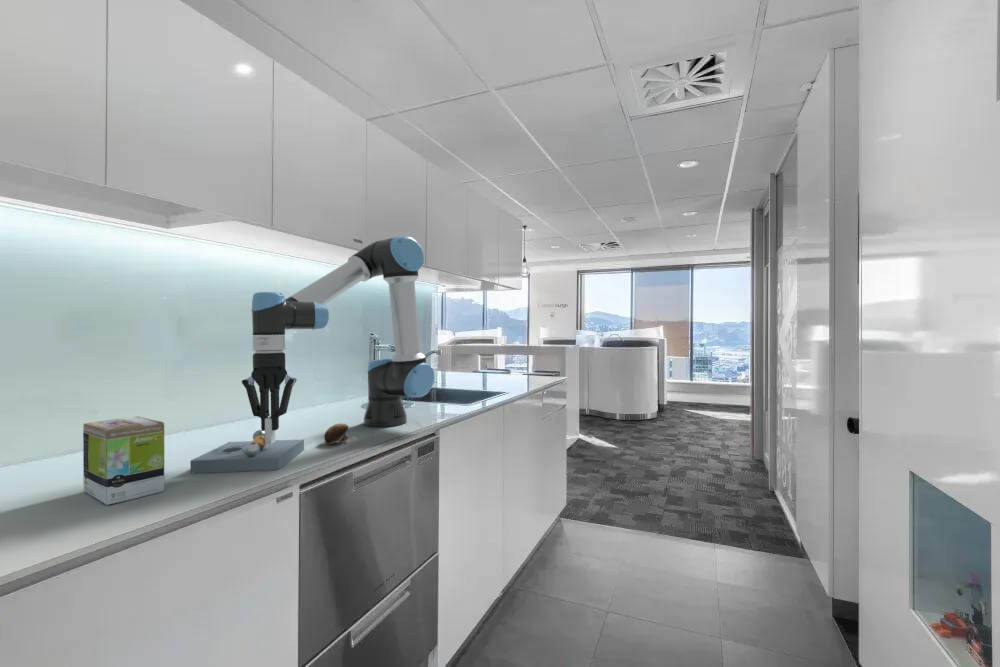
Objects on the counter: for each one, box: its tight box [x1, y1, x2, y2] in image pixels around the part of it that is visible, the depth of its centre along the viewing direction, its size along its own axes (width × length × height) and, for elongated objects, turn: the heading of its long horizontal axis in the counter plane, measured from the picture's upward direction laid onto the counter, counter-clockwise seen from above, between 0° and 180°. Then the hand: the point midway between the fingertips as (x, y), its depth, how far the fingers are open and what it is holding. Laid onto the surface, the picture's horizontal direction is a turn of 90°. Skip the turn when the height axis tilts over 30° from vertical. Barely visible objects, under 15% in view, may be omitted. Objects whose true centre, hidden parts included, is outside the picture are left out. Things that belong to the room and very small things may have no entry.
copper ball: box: [252, 436, 267, 449], centre depth 116 cm, size 3×3×3 cm
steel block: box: [252, 429, 265, 441], centre depth 123 cm, size 3×3×3 cm
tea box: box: [82, 416, 166, 506], centre depth 94 cm, size 15×10×15 cm, turn 56°
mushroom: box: [323, 423, 350, 445], centre depth 133 cm, size 8×8×6 cm
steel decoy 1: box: [244, 442, 260, 457], centre depth 109 cm, size 3×3×3 cm
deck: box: [189, 439, 305, 474], centre depth 116 cm, size 20×18×3 cm
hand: (270, 442), depth 116 cm, fingers closed
